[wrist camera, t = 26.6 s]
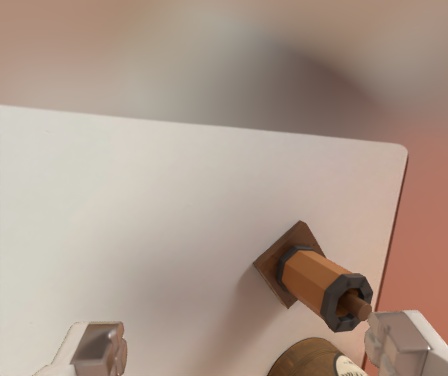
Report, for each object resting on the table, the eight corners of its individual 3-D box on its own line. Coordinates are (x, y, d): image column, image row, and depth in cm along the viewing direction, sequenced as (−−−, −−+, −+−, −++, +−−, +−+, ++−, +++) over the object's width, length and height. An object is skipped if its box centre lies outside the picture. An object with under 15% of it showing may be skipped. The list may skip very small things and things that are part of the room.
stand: (299, 220, 46) (379, 256, 34) (324, 262, 50) (404, 309, 38) (252, 262, 44) (319, 317, 32) (282, 303, 48) (351, 366, 36)
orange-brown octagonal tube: (303, 236, 45) (359, 265, 36) (322, 267, 48) (378, 302, 39) (268, 268, 44) (318, 307, 35) (289, 299, 46) (341, 342, 38)
